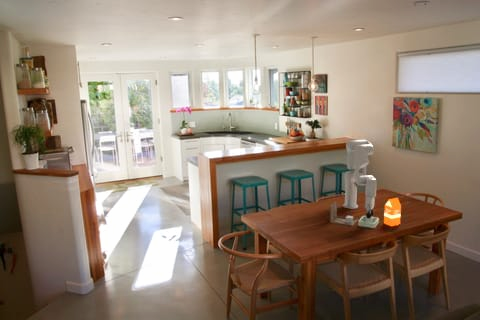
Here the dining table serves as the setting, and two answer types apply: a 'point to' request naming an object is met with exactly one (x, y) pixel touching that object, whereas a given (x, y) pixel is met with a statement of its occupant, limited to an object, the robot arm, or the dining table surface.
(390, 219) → the orange juice
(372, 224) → the sage bin
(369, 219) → the stone cube
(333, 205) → the brown hollow box
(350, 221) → the stone cube
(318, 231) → the dining table surface
